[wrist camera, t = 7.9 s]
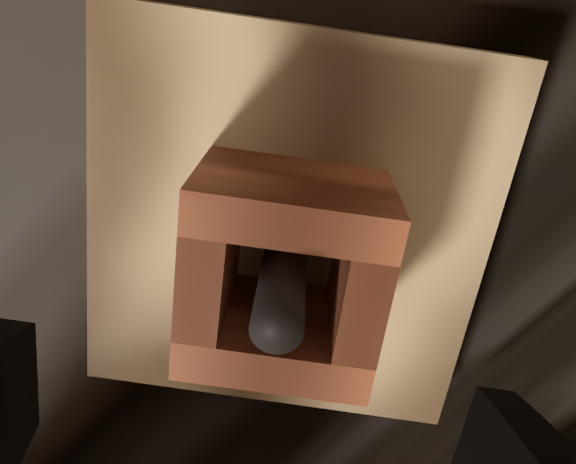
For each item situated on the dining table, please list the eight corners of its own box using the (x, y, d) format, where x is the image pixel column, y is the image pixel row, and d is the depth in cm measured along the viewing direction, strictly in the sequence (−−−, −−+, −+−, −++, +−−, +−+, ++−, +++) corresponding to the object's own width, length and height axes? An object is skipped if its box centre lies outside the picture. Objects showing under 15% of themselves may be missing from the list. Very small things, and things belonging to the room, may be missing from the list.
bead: (199, 300, 17) (168, 379, 14) (211, 145, 15) (179, 189, 12) (356, 321, 17) (367, 407, 14) (388, 170, 16) (411, 222, 12)
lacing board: (102, 350, 20) (13, 497, 14) (106, -6, 15) (-25, -14, 9) (428, 395, 20) (477, 560, 14) (527, 56, 16) (661, 88, 10)
